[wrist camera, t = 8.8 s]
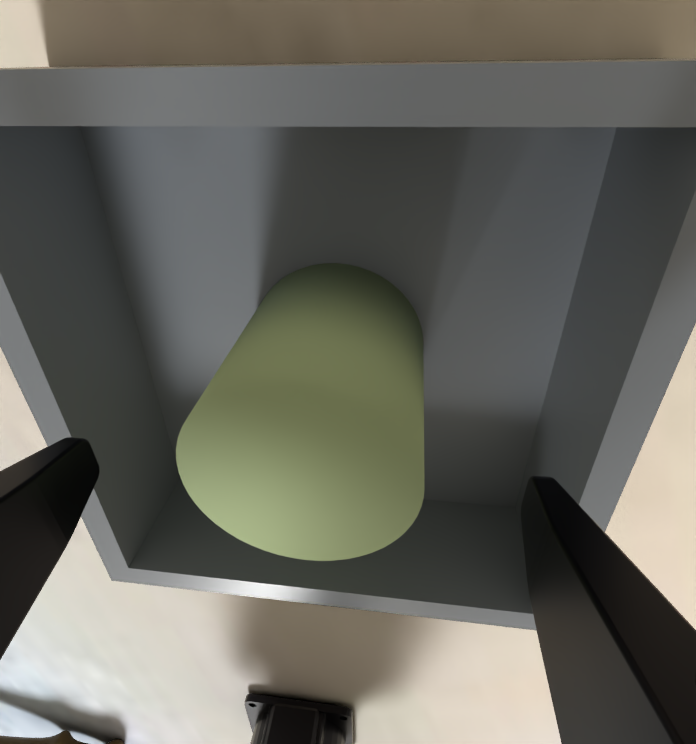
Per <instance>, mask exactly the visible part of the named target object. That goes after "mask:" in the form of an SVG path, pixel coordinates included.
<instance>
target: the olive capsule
mask: <svg viewBox="0 0 696 744" xmlns="http://www.w3.org/2000/svg"><path fill="white" fill-rule="evenodd" d="M176 462H177V467H178V472H179V475H180V477H181V480H182V483H183V485H184V487H185V489H186V490H187V492H188V494H189V496H190V497H191V498H192V500H193V501H194V502H195V504H196V505H197V506H198V507H199V508H200V510H201V511H202V512H203V513H204V514H205V515H206V516H207V517H208V518H209V519H211V520H212V521H213V522H214V523H215V524H216V525H218V526H219V527H220V528H222V529H223V530H225V531H226V532H228V533H229V534H231V535H232V536H234V537H236V538H237V539H239V540H241V541H243V542H245V543H247V544H249V545H252V546H254V547H257V548H259V549H262V550H264V551H267V552H270V553H274V554H277V555H281V556H285V557H290V558H296V559H302V560H314V561H335V560H344V559H350V558H355V557H360V556H363V555H367V554H370V553H373V552H375V551H377V550H380V549H382V548H384V547H386V546H387V545H389V544H391V543H392V542H394V541H395V540H397V539H398V538H399V537H400V536H402V535H403V534H404V533H405V532H406V531H407V530H408V529H409V528H410V526H411V525H412V524H413V522H414V521H415V519H416V518H417V516H418V514H419V511H420V509H421V506H422V503H423V498H424V356H423V333H422V328H421V324H420V321H419V318H418V316H417V314H416V312H415V310H414V308H413V307H412V305H411V303H410V302H409V300H408V299H407V298H406V297H405V296H404V295H403V293H402V292H401V291H400V290H399V289H398V288H396V287H395V286H394V285H393V284H392V283H390V282H389V281H387V280H386V279H384V278H383V277H381V276H379V275H377V274H375V273H374V272H372V271H369V270H366V269H363V268H361V267H357V266H352V265H348V264H338V263H325V264H317V265H311V266H308V267H305V268H301V269H299V270H297V271H295V272H292V273H290V274H289V275H287V276H286V277H284V278H282V279H281V280H280V281H279V282H278V283H276V284H275V285H274V286H273V287H272V288H271V290H270V291H269V292H268V293H267V294H266V296H265V298H264V299H263V301H262V302H261V304H260V305H259V307H258V308H257V310H256V312H255V313H254V315H253V316H252V318H251V319H250V321H249V322H248V324H247V326H246V327H245V329H244V330H243V332H242V333H241V335H240V336H239V338H238V340H237V341H236V343H235V344H234V346H233V347H232V349H231V350H230V352H229V354H228V355H227V357H226V358H225V360H224V361H223V363H222V364H221V366H220V368H219V369H218V371H217V372H216V374H215V375H214V377H213V378H212V380H211V382H210V383H209V385H208V386H207V388H206V389H205V391H204V392H203V394H202V396H201V397H200V399H199V400H198V402H197V403H196V405H195V406H194V408H193V410H192V411H191V413H190V414H189V416H188V417H187V419H186V421H185V422H184V424H183V426H182V428H181V430H180V433H179V436H178V440H177V446H176Z"/></svg>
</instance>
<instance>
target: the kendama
mask: <svg viewBox="0 0 696 744" xmlns="http://www.w3.org/2000/svg"><path fill="white" fill-rule="evenodd" d="M0 744H87V743H83V742H79V741H77V740H75V739H74V738H73V737H72V736H71V734H70V732H69V731H67V730H65V731H62V732H61V733H59V734H57V735H55V736H52V737H46V738H23V737H9V736H0ZM106 744H124V742H123V741H122V740H120V739H114V740H112V741H111V742H109V743H106Z"/></svg>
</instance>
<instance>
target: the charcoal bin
mask: <svg viewBox="0 0 696 744" xmlns="http://www.w3.org/2000/svg"><path fill="white" fill-rule="evenodd" d="M325 263H338V264H348V265H352V266H357V267H361V268H363V269H366V270H369V271H372V272H374V273H375V274H377V275H379V276H381V277H383V278H384V279H386V280H387V281H389V282H390V283H392V284H393V285H394V286H395V287H396V288H398V289H399V290H400V291H401V292H402V293H403V295H404V296H405V297H406V298H407V299H408V300H409V302H410V303H411V305H412V307H413V308H414V310H415V312H416V314H417V316H418V318H419V321H420V324H421V328H422V333H423V356H424V498H423V503H422V506H421V509H420V511H419V514H418V516H417V518H416V519H415V521H414V522H413V524H412V525H411V526H410V528H409V529H408V530H407V531H406V532H405V533H404V534H403V535H402V536H400V537H399V538H398V539H397V540H395V541H394V542H392V543H391V544H389V545H387V546H386V547H384V548H382V549H380V550H377V551H375V552H373V553H370V554H367V555H363V556H360V557H355V558H350V559H344V560H335V561H314V560H302V559H296V558H290V557H285V556H281V555H277V554H274V553H270V552H267V551H264V550H262V549H259V548H257V547H254V546H252V545H249V544H247V543H245V542H243V541H241V540H239V539H237V538H236V537H234V536H232V535H231V534H229V533H228V532H226V531H225V530H223V529H222V528H220V527H219V526H218V525H216V524H215V523H214V522H213V521H212V520H211V519H209V518H208V517H207V516H206V515H205V514H204V513H203V512H202V511H201V510H200V508H199V507H198V506H197V505H196V504H195V502H194V501H193V500H192V498H191V497H190V496H189V494H188V492H187V490H186V489H185V487H184V485H183V483H182V480H181V477H180V475H179V472H178V467H177V462H176V446H177V440H178V436H179V433H180V430H181V428H182V426H183V424H184V422H185V421H186V419H187V417H188V416H189V414H190V413H191V411H192V410H193V408H194V406H195V405H196V403H197V402H198V400H199V399H200V397H201V396H202V394H203V392H204V391H205V389H206V388H207V386H208V385H209V383H210V382H211V380H212V378H213V377H214V375H215V374H216V372H217V371H218V369H219V368H220V366H221V364H222V363H223V361H224V360H225V358H226V357H227V355H228V354H229V352H230V350H231V349H232V347H233V346H234V344H235V343H236V341H237V340H238V338H239V336H240V335H241V333H242V332H243V330H244V329H245V327H246V326H247V324H248V322H249V321H250V319H251V318H252V316H253V315H254V313H255V312H256V310H257V308H258V307H259V305H260V304H261V302H262V301H263V299H264V298H265V296H266V294H267V293H268V292H269V291H270V290H271V288H272V287H273V286H274V285H275V284H276V283H278V282H279V281H280V280H281V279H282V278H284V277H286V276H287V275H289V274H290V273H292V272H295V271H297V270H299V269H301V268H305V267H308V266H311V265H317V264H325ZM695 323H696V59H606V60H531V61H456V62H381V63H306V64H231V65H156V66H81V67H25V68H0V347H1V349H2V351H3V353H4V355H5V357H6V359H7V361H8V364H9V366H10V368H11V370H12V372H13V374H14V376H15V378H16V380H17V382H18V385H19V387H20V389H21V391H22V393H23V395H24V397H25V399H26V401H27V404H28V406H29V408H30V410H31V412H32V414H33V416H34V418H35V420H36V422H37V425H38V427H39V429H40V431H41V433H42V435H43V437H44V439H45V441H46V443H47V446H50V445H52V444H54V443H56V442H58V441H60V440H62V439H64V438H67V437H74V438H84V439H87V440H88V441H89V442H90V444H91V447H92V449H93V452H94V454H95V457H96V459H97V461H98V464H99V468H100V473H99V477H98V480H97V482H96V484H95V486H94V489H93V491H92V493H91V495H90V497H89V499H88V502H87V504H86V506H85V508H84V510H83V513H82V515H81V517H82V519H83V521H84V523H85V525H86V528H87V530H88V532H89V534H90V536H91V538H92V540H93V542H94V544H95V546H96V549H97V551H98V553H99V555H100V557H101V559H102V561H103V563H104V565H105V567H106V570H107V572H108V574H109V576H110V578H111V580H112V581H120V582H129V583H138V584H146V585H155V586H163V587H172V588H180V589H189V590H197V591H206V592H214V593H223V594H231V595H240V596H248V597H257V598H265V599H274V600H282V601H291V602H299V603H308V604H317V605H325V606H334V607H342V608H351V609H359V610H368V611H376V612H385V613H393V614H402V615H410V616H419V617H427V618H436V619H444V620H453V621H461V622H470V623H479V624H487V625H496V626H504V627H513V628H521V629H530V630H536V625H535V621H534V616H533V612H532V607H531V602H530V597H529V590H528V582H527V573H526V563H525V553H524V543H523V534H522V524H521V504H522V500H523V497H524V493H525V490H526V486H527V482H528V480H529V478H530V477H531V476H534V475H535V476H547V477H552V478H554V479H555V480H556V481H557V482H558V483H559V484H560V485H561V486H562V487H563V488H564V489H565V490H566V491H567V492H568V493H569V495H570V496H571V497H572V498H573V499H574V500H575V501H576V502H577V503H578V504H579V505H580V506H581V507H582V508H583V510H584V511H585V512H586V513H587V514H588V515H589V516H590V517H591V518H592V519H593V520H594V521H595V522H596V524H597V525H598V526H599V527H600V528H601V529H602V530H603V531H604V532H605V530H606V528H607V526H608V523H609V521H610V519H611V516H612V514H613V512H614V509H615V507H616V505H617V503H618V500H619V498H620V496H621V493H622V491H623V489H624V486H625V484H626V482H627V480H628V477H629V475H630V473H631V470H632V468H633V466H634V463H635V461H636V459H637V457H638V454H639V452H640V450H641V447H642V445H643V443H644V440H645V438H646V436H647V434H648V431H649V429H650V427H651V424H652V422H653V420H654V417H655V415H656V413H657V411H658V408H659V406H660V404H661V401H662V399H663V397H664V394H665V392H666V390H667V388H668V385H669V383H670V381H671V378H672V376H673V374H674V371H675V369H676V367H677V364H678V362H679V360H680V358H681V355H682V353H683V351H684V348H685V346H686V344H687V341H688V339H689V337H690V335H691V332H692V330H693V328H694V325H695Z"/></svg>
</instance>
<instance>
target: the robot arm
mask: <svg viewBox="0 0 696 744" xmlns="http://www.w3.org/2000/svg"><path fill="white" fill-rule="evenodd" d="M99 473H100V468H99V464H98V461H97V459H96V457H95V454H94V452H93V449H92V447H91V444H90V442H89V441H88V440H87V439H84V438H74V437H67V438H64V439H62V440H60V441H58V442H56V443H54V444H52V445H50V446H48V447H46V448H44V449H42V450H40V451H38V452H37V453H35V454H33V455H31V456H29V457H27V458H25V459H23V460H21V461H19V462H17V463H15V464H13V465H12V466H10V467H8V468H6V469H4V470H2V471H0V660H1V658H2V656H3V654H4V653H5V651H6V649H7V648H8V646H9V644H10V642H11V641H12V639H13V637H14V636H15V634H16V632H17V630H18V629H19V627H20V625H21V624H22V622H23V620H24V618H25V617H26V615H27V613H28V612H29V610H30V608H31V606H32V605H33V603H34V601H35V600H36V598H37V596H38V594H39V593H40V591H41V589H42V588H43V586H44V584H45V582H46V581H47V579H48V577H49V576H50V574H51V572H52V570H53V569H54V567H55V565H56V564H57V562H58V560H59V558H60V557H61V555H62V553H63V551H64V550H65V548H66V546H67V544H68V542H69V540H70V538H71V536H72V534H73V532H74V530H75V528H76V526H77V524H78V521H79V519H80V517H81V515H82V513H83V510H84V508H85V506H86V504H87V502H88V499H89V497H90V495H91V493H92V491H93V489H94V486H95V484H96V482H97V480H98V477H99ZM521 524H522V534H523V543H524V553H525V563H526V573H527V582H528V590H529V597H530V602H531V607H532V612H533V616H534V621H535V625H536V630H537V634H538V639H539V643H540V648H541V652H542V657H543V661H544V666H545V670H546V675H547V679H548V684H549V688H550V693H551V697H552V702H553V706H554V711H555V715H556V720H557V724H558V729H559V733H560V738H561V742H562V744H696V630H695V629H694V628H693V627H692V626H691V624H690V623H689V622H688V621H687V620H686V619H685V618H684V617H683V616H682V615H681V614H680V613H679V612H678V611H677V609H676V608H675V607H674V606H673V605H672V604H671V603H670V602H669V601H668V600H667V599H666V598H665V597H664V595H663V594H662V593H661V592H660V591H659V590H658V589H657V588H656V587H655V586H654V585H653V584H652V583H651V582H650V580H649V579H648V578H647V577H646V576H645V575H644V574H643V573H642V572H641V571H640V570H639V569H638V568H637V566H636V565H635V564H634V563H633V562H632V561H631V560H630V559H629V558H628V557H627V556H626V555H625V554H624V553H623V551H622V550H621V549H620V548H619V547H618V546H617V545H616V544H615V543H614V542H613V541H612V540H611V539H610V537H609V536H608V535H607V534H606V533H605V532H604V531H603V530H602V529H601V528H600V527H599V526H598V525H597V524H596V522H595V521H594V520H593V519H592V518H591V517H590V516H589V515H588V514H587V513H586V512H585V511H584V510H583V508H582V507H581V506H580V505H579V504H578V503H577V502H576V501H575V500H574V499H573V498H572V497H571V496H570V495H569V493H568V492H567V491H566V490H565V489H564V488H563V487H562V486H561V485H560V484H559V483H558V482H557V481H556V480H555V479H554V478H552V477H547V476H535V475H534V476H531V477H530V478H529V480H528V482H527V486H526V490H525V493H524V497H523V500H522V504H521ZM245 708H246V711H247V715H248V718H249V721H250V725H251V728H252V732H253V736H252V740H251V744H353V711H352V710H351V709H350V708H347V707H342V706H335V705H328V704H321V703H314V702H307V701H300V700H293V699H286V698H278V697H271V696H264V695H257V694H248V695H247V696H246V700H245Z"/></svg>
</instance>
